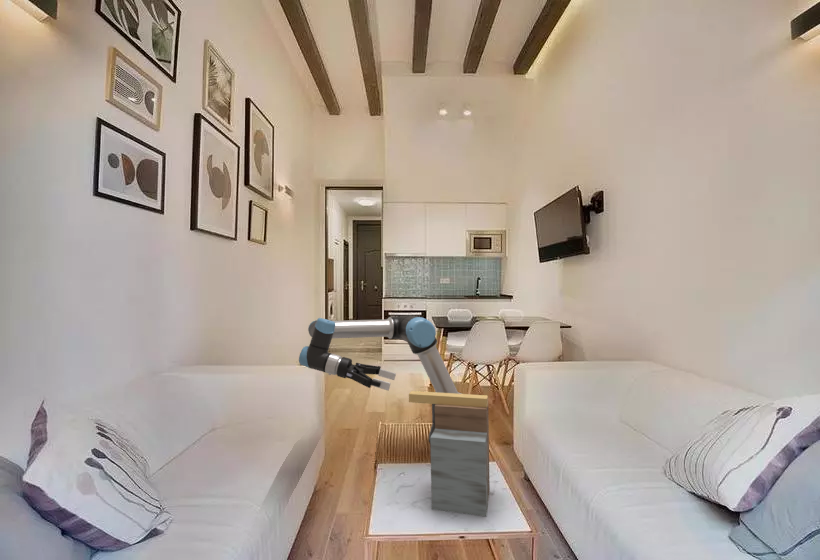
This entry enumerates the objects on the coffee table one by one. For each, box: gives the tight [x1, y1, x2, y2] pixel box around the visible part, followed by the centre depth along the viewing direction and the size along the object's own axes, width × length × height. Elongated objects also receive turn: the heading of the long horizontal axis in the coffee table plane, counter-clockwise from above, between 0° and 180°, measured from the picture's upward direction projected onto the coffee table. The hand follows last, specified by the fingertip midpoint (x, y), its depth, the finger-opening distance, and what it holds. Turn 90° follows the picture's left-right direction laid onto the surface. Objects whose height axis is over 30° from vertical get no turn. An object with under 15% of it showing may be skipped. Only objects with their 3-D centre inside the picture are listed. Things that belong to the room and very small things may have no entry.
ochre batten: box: [408, 390, 489, 407], centre depth 144 cm, size 4×28×3 cm, turn 75°
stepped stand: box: [429, 404, 491, 517], centre depth 139 cm, size 16×18×32 cm
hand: (392, 381), depth 152 cm, fingers open, 13 cm apart
